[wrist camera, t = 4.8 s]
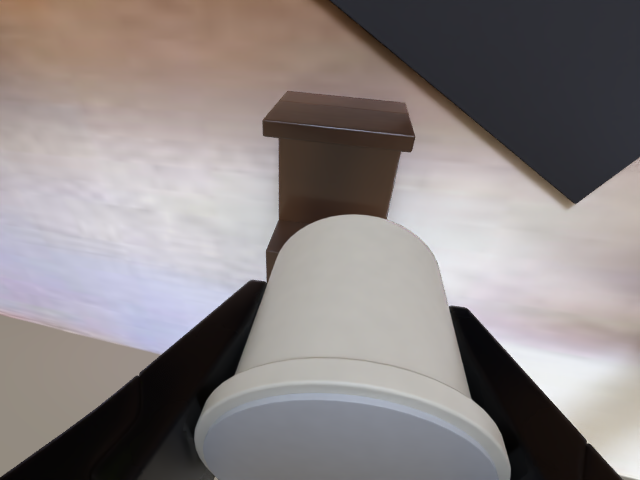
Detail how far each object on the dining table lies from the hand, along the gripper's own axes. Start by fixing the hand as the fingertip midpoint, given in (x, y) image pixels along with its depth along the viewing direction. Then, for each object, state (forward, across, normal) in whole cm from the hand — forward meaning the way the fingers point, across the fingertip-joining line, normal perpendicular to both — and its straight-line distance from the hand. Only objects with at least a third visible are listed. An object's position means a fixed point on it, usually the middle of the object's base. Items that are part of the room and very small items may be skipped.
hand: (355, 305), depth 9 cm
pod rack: (+12, +1, +6) cm, 14 cm away
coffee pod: (+1, 0, 0) cm, 1 cm away
